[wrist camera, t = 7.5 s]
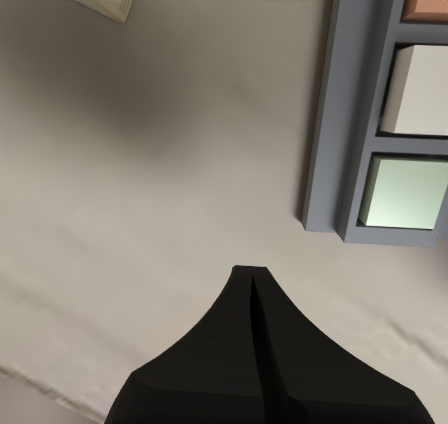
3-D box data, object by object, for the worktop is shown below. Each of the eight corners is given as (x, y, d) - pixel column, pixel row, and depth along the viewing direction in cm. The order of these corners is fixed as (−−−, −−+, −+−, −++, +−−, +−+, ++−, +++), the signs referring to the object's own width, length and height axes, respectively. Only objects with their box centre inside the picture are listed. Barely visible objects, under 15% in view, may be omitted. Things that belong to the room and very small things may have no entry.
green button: (418, 219, 19) (433, 228, 17) (356, 215, 19) (365, 225, 18) (436, 158, 18) (454, 163, 16) (369, 154, 18) (381, 159, 16)
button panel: (438, 230, 21) (469, 249, 18) (301, 222, 22) (310, 240, 19) (542, -89, 15) (612, -134, 12) (346, -93, 15) (370, -138, 12)
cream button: (452, 133, 16) (473, 136, 15) (380, 130, 16) (393, 132, 15) (476, 53, 15) (502, 48, 13) (397, 50, 15) (415, 45, 14)
